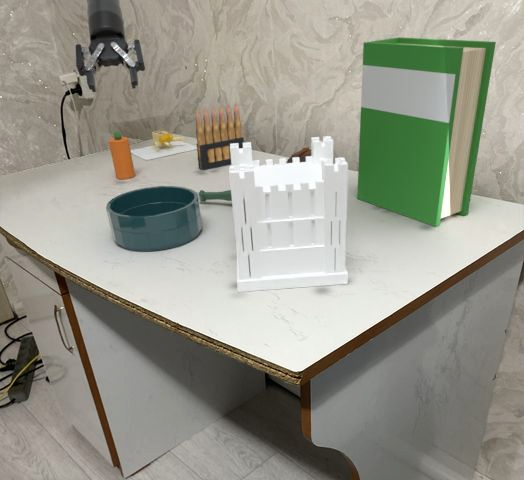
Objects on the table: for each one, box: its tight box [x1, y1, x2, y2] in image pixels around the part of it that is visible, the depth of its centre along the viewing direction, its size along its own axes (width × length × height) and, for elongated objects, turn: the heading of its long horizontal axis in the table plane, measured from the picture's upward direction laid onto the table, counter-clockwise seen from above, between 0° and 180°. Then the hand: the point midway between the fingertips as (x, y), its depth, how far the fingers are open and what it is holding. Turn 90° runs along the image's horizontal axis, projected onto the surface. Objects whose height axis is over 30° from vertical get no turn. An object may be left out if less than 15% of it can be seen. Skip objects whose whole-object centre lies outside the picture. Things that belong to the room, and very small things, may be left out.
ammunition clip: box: [195, 102, 245, 171], centre depth 114 cm, size 11×2×12 cm, turn 118°
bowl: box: [105, 185, 203, 252], centre depth 85 cm, size 14×14×6 cm
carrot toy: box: [108, 130, 136, 180], centre depth 112 cm, size 4×4×9 cm
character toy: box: [151, 129, 185, 148], centre depth 131 cm, size 8×3×8 cm
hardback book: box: [356, 36, 497, 228], centre depth 83 cm, size 18×7×24 cm, turn 34°
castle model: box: [228, 135, 349, 293], centre depth 70 cm, size 14×14×15 cm
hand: (113, 87), depth 115 cm, fingers open, 8 cm apart
